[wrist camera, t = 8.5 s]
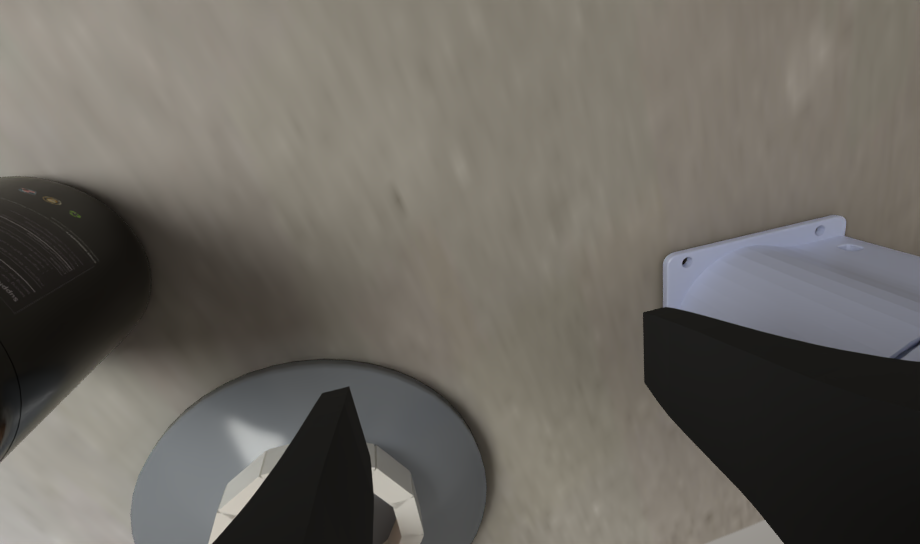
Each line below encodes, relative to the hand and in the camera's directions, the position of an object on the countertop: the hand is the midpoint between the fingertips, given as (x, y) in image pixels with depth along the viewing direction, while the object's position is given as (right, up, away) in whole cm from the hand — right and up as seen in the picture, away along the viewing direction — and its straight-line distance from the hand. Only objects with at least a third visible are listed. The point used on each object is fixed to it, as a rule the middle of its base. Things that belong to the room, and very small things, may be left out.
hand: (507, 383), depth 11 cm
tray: (-8, -9, +12) cm, 17 cm away
